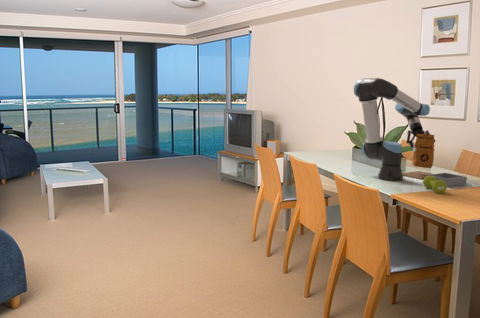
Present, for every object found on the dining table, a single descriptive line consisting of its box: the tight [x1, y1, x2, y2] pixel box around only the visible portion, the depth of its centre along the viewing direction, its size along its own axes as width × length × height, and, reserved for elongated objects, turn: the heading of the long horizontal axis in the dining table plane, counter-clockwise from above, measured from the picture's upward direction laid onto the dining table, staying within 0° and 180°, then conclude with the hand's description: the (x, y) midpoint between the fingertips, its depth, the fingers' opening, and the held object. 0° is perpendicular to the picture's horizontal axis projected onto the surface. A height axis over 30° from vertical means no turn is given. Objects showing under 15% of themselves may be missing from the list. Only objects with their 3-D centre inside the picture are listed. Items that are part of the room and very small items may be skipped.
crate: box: [427, 172, 468, 189], centre depth 267 cm, size 17×15×5 cm
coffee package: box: [411, 133, 435, 169], centre depth 288 cm, size 10×12×22 cm
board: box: [402, 170, 433, 181], centre depth 292 cm, size 20×18×1 cm
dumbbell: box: [422, 176, 448, 194], centre depth 249 cm, size 16×8×7 cm, turn 179°
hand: (424, 151), depth 288 cm, fingers closed on coffee package, 12 cm apart
